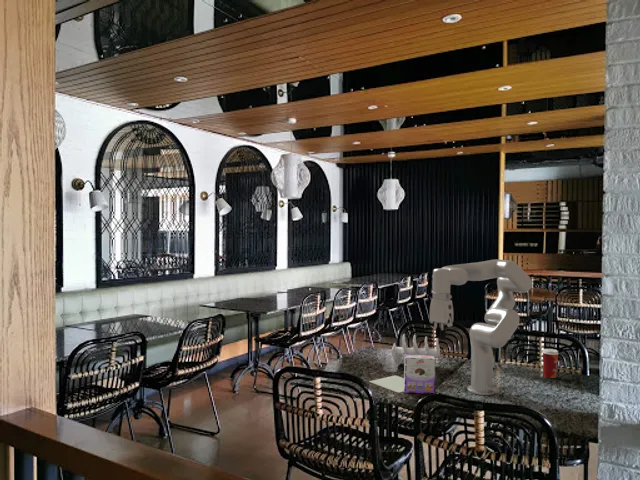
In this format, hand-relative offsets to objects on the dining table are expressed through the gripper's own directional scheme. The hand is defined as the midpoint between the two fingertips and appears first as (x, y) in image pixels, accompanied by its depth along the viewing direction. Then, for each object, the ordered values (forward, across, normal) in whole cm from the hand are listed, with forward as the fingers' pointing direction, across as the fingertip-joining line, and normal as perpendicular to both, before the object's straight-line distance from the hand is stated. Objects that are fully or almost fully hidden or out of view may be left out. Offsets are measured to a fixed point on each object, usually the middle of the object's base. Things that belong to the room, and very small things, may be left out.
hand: (440, 338), depth 215 cm
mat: (+27, +26, 0) cm, 38 cm away
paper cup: (+27, -11, -73) cm, 79 cm away
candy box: (+27, +12, 0) cm, 30 cm away
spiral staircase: (+27, +41, -30) cm, 58 cm away
